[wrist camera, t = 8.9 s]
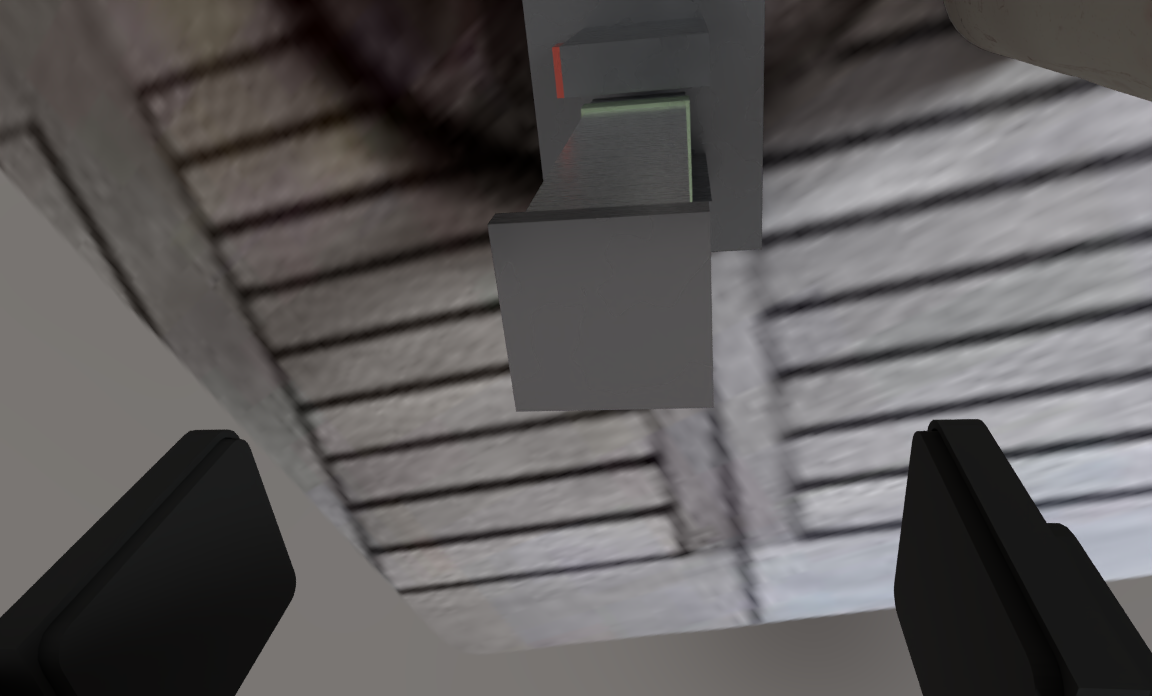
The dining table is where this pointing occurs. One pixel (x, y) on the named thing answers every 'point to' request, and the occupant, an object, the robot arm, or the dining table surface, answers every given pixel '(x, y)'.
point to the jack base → (663, 87)
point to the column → (611, 268)
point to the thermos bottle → (1066, 37)
